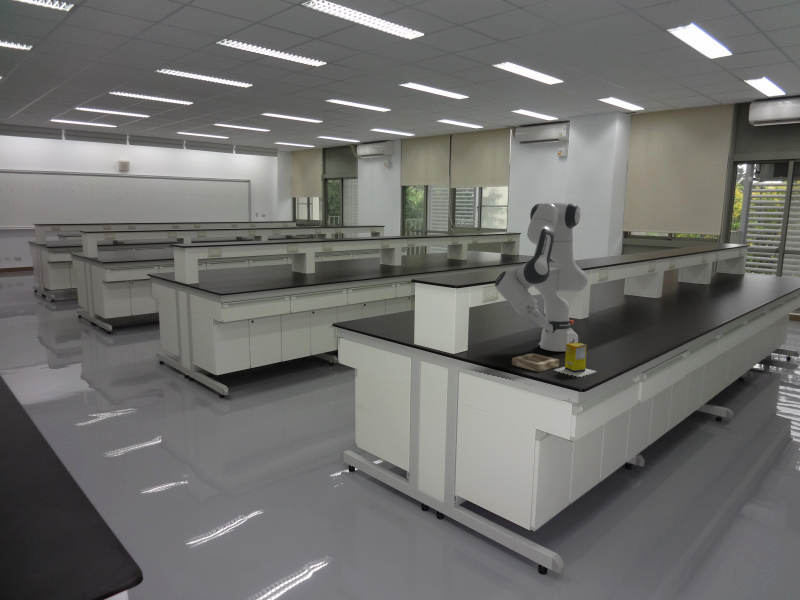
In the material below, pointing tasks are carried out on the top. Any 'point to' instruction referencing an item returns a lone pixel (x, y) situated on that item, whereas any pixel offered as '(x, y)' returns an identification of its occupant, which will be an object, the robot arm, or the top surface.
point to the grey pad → (577, 374)
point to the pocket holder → (535, 362)
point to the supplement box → (575, 357)
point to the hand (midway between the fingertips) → (549, 329)
